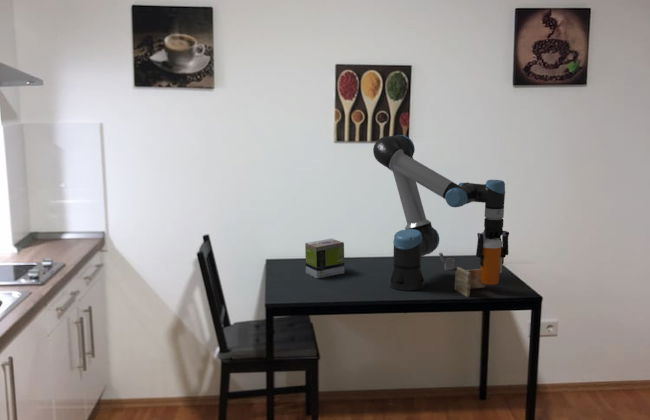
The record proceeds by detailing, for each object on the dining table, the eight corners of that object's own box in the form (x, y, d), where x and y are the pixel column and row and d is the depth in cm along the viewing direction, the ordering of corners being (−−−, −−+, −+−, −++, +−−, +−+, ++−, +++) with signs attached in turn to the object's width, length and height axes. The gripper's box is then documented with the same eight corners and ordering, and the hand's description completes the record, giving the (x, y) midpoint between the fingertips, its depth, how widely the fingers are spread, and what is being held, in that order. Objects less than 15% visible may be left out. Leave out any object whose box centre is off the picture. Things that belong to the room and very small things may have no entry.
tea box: (332, 268, 300) (332, 237, 297) (344, 273, 292) (345, 242, 289) (304, 273, 292) (304, 241, 289) (316, 279, 284) (316, 246, 281)
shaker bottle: (497, 286, 261) (498, 238, 257) (475, 283, 265) (477, 236, 261) (503, 280, 268) (505, 234, 264) (482, 277, 273) (483, 231, 269)
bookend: (466, 296, 260) (468, 273, 258) (454, 289, 270) (455, 266, 268) (497, 293, 265) (498, 270, 263) (483, 286, 274) (485, 263, 272)
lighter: (453, 268, 300) (453, 252, 299) (454, 269, 299) (454, 252, 297) (438, 268, 300) (438, 252, 298) (439, 269, 298) (439, 253, 297)
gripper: (477, 221, 255) (475, 277, 260) (519, 218, 261) (516, 273, 266) (468, 217, 262) (466, 272, 267) (509, 214, 268) (506, 268, 273)
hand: (491, 272), depth 266 cm, fingers open, 6 cm apart
